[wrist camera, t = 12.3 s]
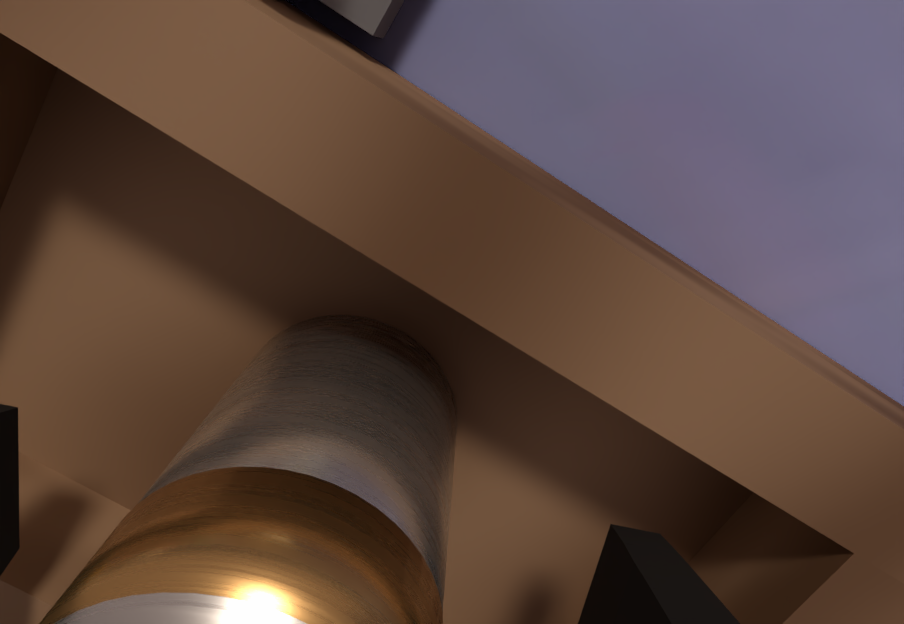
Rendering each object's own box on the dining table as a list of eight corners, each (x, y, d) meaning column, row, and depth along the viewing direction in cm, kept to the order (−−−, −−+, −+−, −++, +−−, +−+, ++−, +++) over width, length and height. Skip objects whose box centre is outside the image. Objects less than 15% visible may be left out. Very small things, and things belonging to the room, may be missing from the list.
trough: (909, 409, 11) (1049, 524, 9) (557, 771, 14) (574, 945, 11) (43, -159, 9) (-153, -258, 6) (-159, 403, 12) (-354, 507, 9)
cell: (477, 336, 10) (466, 726, 4) (437, 528, 12) (385, 1053, 5) (247, 294, 10) (-101, 627, 4) (229, 492, 11) (-63, 980, 5)
